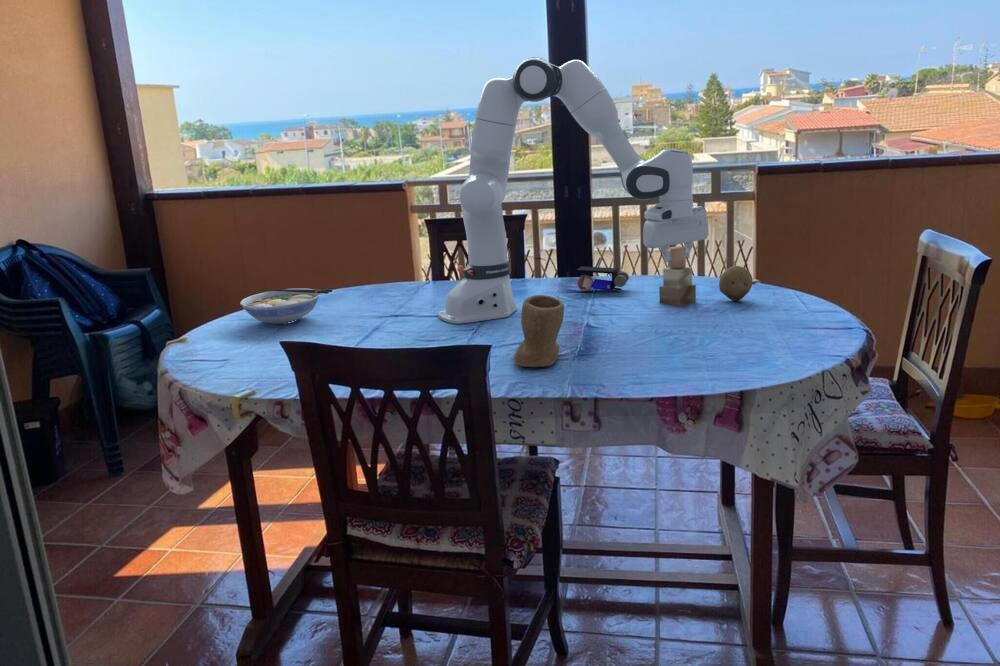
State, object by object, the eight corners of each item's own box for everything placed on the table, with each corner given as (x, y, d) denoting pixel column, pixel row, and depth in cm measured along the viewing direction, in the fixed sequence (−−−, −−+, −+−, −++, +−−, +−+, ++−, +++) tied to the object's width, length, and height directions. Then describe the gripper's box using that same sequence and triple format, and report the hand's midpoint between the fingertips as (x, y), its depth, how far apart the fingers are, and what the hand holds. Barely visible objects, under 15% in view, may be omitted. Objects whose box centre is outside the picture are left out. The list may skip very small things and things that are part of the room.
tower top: (678, 288, 220) (678, 270, 219) (663, 285, 224) (663, 268, 223) (692, 285, 223) (691, 267, 222) (676, 282, 227) (676, 264, 226)
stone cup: (562, 371, 175) (559, 304, 171) (509, 371, 178) (504, 305, 174) (571, 350, 190) (568, 288, 185) (521, 350, 192) (517, 289, 188)
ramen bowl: (223, 330, 231) (219, 302, 228) (276, 309, 250) (273, 284, 248) (292, 335, 220) (288, 306, 218) (342, 313, 240) (339, 286, 237)
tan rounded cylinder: (675, 268, 219) (675, 250, 218) (664, 266, 223) (664, 248, 222) (689, 266, 221) (689, 248, 220) (678, 263, 225) (677, 245, 224)
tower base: (679, 307, 220) (679, 289, 219) (659, 303, 226) (659, 286, 224) (695, 302, 224) (695, 284, 223) (675, 298, 230) (675, 281, 228)
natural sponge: (751, 305, 216) (752, 269, 213) (717, 305, 219) (717, 269, 216) (752, 297, 224) (753, 262, 222) (719, 297, 227) (719, 262, 224)
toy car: (628, 293, 246) (579, 287, 250) (630, 268, 244) (581, 263, 248) (624, 298, 240) (574, 292, 244) (626, 273, 237) (576, 267, 242)
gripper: (698, 204, 225) (698, 253, 229) (639, 213, 216) (640, 263, 220) (713, 206, 220) (713, 255, 223) (653, 215, 211) (654, 267, 215)
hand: (676, 259), depth 222 cm, fingers closed on tan rounded cylinder, 5 cm apart
